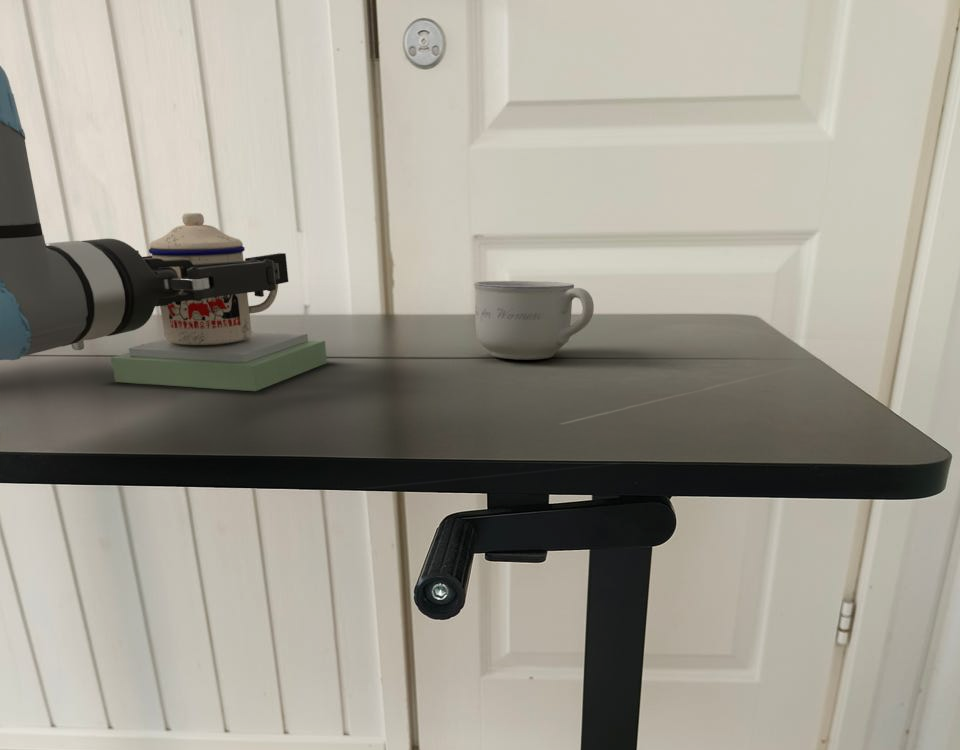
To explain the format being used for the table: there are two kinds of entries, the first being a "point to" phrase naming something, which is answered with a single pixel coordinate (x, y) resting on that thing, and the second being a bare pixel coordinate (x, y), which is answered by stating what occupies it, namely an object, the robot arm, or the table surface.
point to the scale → (221, 362)
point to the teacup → (527, 317)
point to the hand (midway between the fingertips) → (234, 266)
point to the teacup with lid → (212, 315)
